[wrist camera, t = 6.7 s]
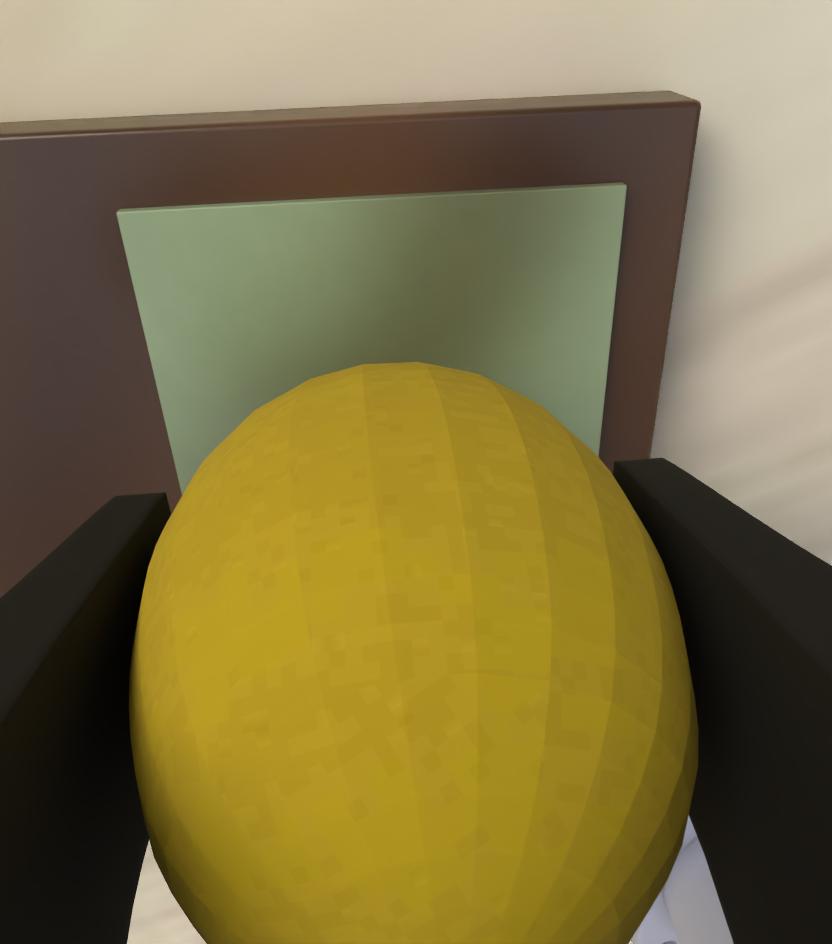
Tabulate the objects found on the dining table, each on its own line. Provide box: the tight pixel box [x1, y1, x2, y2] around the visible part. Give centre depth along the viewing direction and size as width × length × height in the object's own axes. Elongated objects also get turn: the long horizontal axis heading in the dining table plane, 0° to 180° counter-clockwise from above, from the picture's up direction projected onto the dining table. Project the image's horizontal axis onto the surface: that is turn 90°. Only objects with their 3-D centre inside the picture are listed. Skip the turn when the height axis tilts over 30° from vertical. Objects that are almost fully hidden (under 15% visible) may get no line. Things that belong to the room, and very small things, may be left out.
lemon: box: [129, 362, 699, 944], centre depth 8 cm, size 6×6×8 cm
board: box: [0, 91, 701, 598], centre depth 15 cm, size 20×15×1 cm
